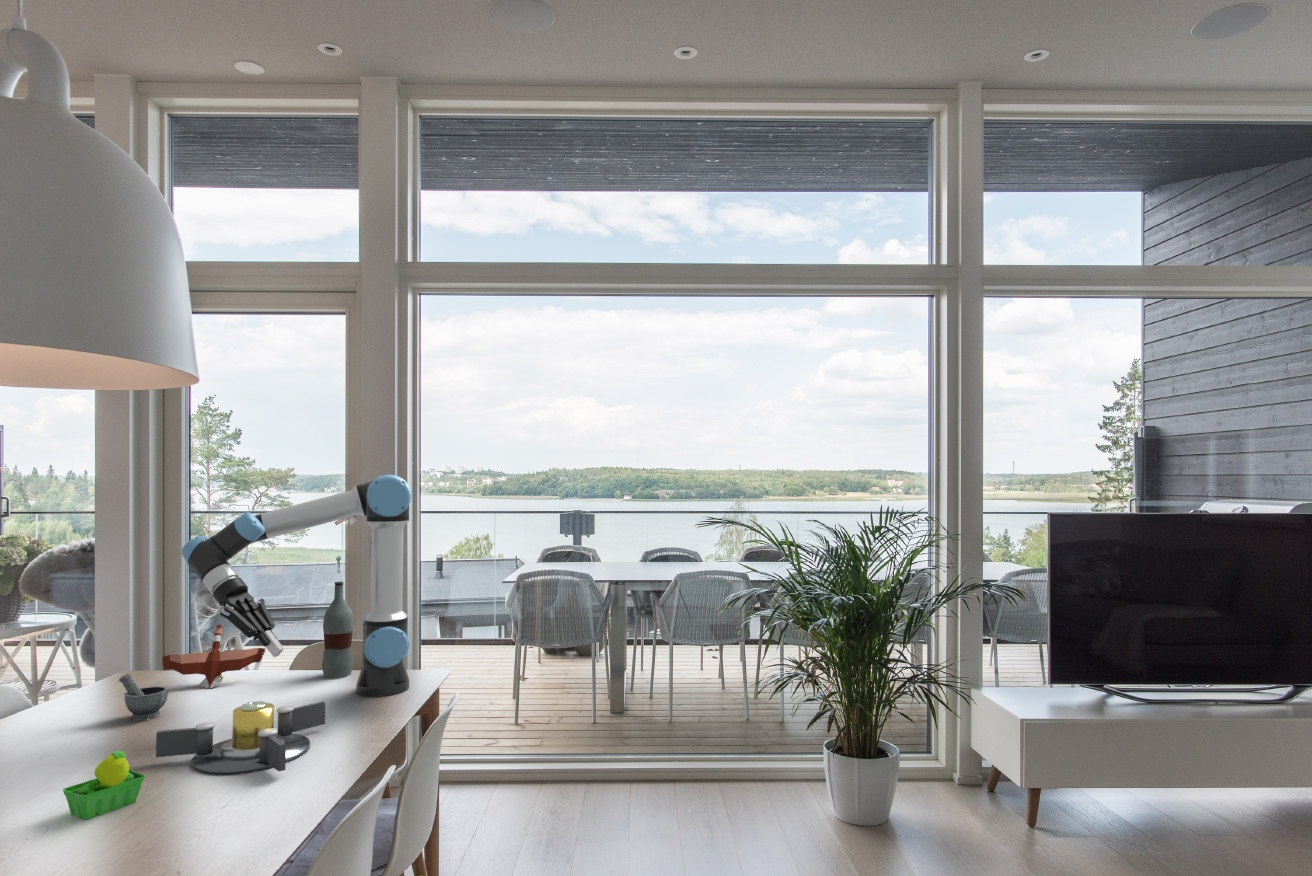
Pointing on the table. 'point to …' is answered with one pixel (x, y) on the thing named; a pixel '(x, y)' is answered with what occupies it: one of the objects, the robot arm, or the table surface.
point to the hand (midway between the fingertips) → (279, 652)
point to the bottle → (338, 637)
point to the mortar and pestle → (143, 699)
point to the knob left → (272, 749)
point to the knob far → (185, 741)
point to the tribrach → (247, 743)
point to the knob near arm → (300, 717)
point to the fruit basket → (105, 788)
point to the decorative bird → (212, 661)
